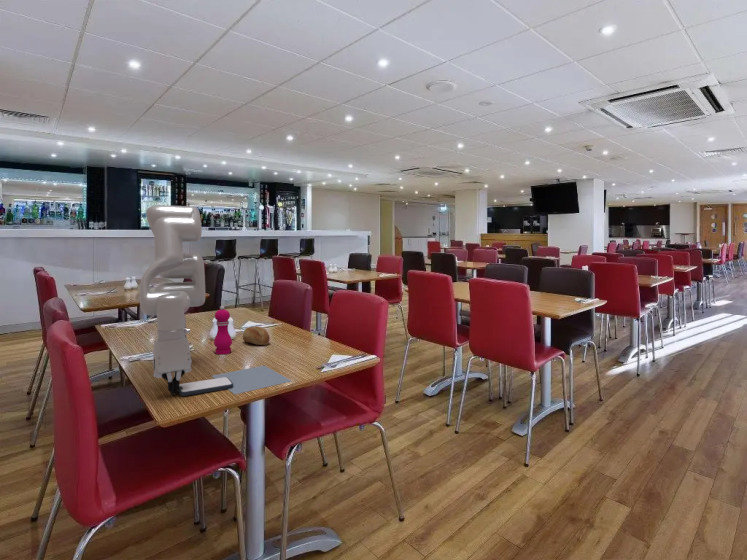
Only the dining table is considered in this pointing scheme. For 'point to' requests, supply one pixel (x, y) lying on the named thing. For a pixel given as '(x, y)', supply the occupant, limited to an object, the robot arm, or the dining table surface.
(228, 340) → the pepper mill
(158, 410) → the dining table surface
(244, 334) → the bread roll
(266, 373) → the slate mat
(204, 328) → the dining table surface
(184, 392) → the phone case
